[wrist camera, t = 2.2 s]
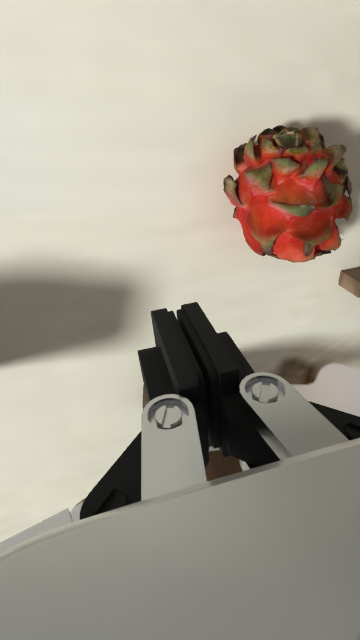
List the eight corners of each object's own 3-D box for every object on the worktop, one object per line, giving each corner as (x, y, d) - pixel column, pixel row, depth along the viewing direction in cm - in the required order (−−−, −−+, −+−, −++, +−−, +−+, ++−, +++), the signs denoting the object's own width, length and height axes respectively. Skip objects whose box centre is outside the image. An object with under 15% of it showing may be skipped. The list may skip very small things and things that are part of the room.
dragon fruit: (222, 114, 26) (286, 219, 34) (177, 202, 24) (258, 294, 31) (337, 62, 20) (384, 205, 27) (293, 173, 17) (358, 296, 25)
